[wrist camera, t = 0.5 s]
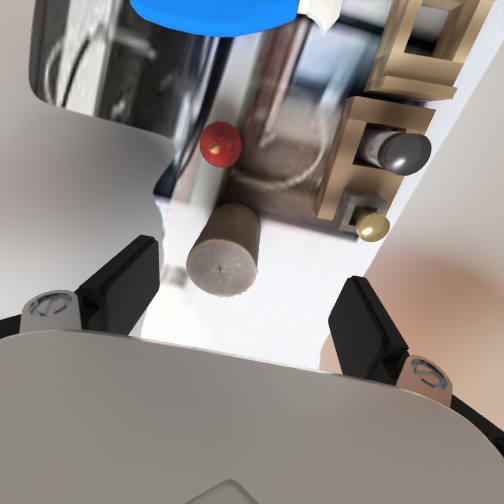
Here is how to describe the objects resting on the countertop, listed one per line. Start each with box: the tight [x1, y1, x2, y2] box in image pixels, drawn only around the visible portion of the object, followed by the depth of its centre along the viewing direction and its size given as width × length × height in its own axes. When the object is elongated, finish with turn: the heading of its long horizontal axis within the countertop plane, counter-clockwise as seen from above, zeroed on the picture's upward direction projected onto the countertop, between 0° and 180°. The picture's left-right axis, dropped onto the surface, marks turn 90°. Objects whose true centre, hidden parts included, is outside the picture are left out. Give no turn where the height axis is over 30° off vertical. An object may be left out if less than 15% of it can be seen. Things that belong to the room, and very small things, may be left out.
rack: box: [364, 0, 495, 102], centre depth 25 cm, size 11×8×6 cm
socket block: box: [314, 96, 436, 233], centre depth 32 cm, size 16×10×8 cm, turn 172°
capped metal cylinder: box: [355, 129, 431, 176], centre depth 28 cm, size 4×4×12 cm
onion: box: [200, 121, 242, 168], centre depth 32 cm, size 6×6×8 cm
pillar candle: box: [186, 202, 261, 297], centre depth 36 cm, size 10×10×15 cm
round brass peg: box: [355, 210, 390, 242], centre depth 30 cm, size 4×4×4 cm
